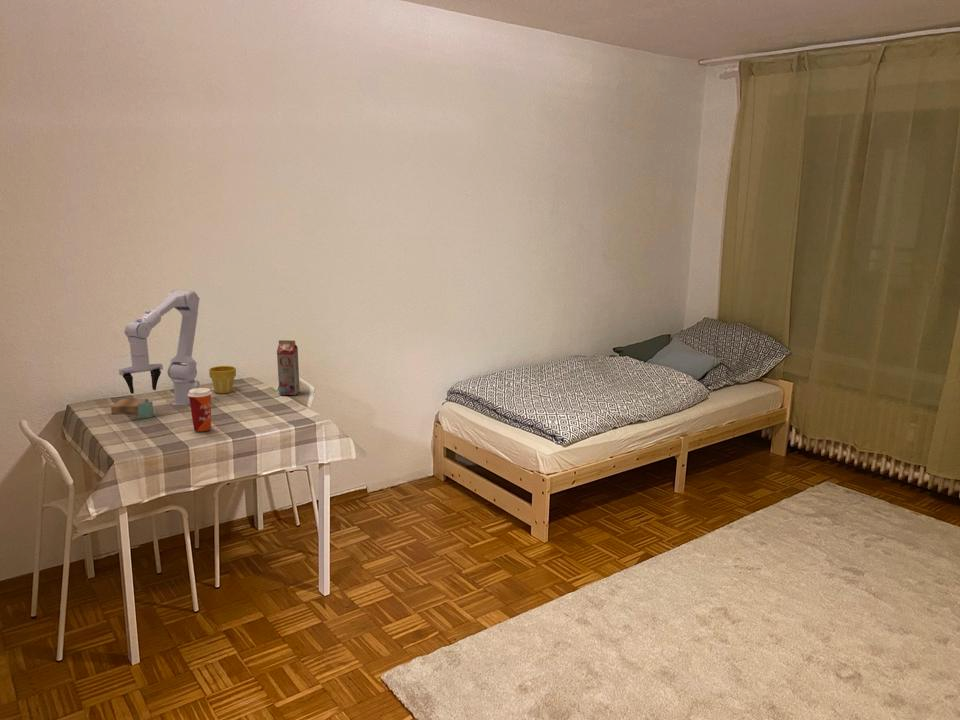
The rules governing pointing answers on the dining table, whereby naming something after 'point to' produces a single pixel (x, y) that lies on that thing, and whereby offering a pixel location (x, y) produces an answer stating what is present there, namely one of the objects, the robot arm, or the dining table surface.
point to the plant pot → (222, 378)
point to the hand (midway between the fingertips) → (143, 391)
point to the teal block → (145, 409)
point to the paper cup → (200, 408)
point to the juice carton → (288, 367)
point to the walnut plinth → (127, 406)
